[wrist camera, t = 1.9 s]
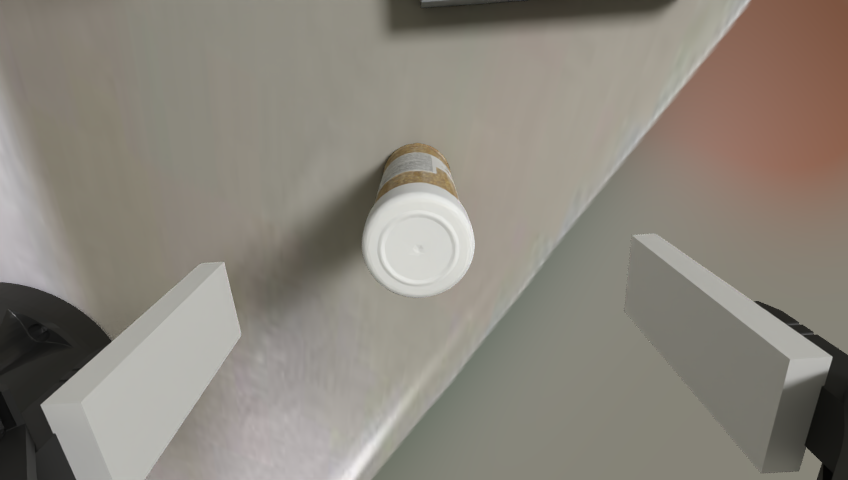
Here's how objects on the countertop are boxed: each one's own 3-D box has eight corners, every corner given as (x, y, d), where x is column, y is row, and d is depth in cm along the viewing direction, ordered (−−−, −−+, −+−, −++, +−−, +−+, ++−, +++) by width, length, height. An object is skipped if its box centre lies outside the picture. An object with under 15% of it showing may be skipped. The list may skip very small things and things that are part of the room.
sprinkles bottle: (453, 204, 31) (480, 296, 19) (387, 211, 31) (369, 307, 19) (447, 137, 30) (472, 187, 17) (377, 144, 30) (351, 200, 17)
